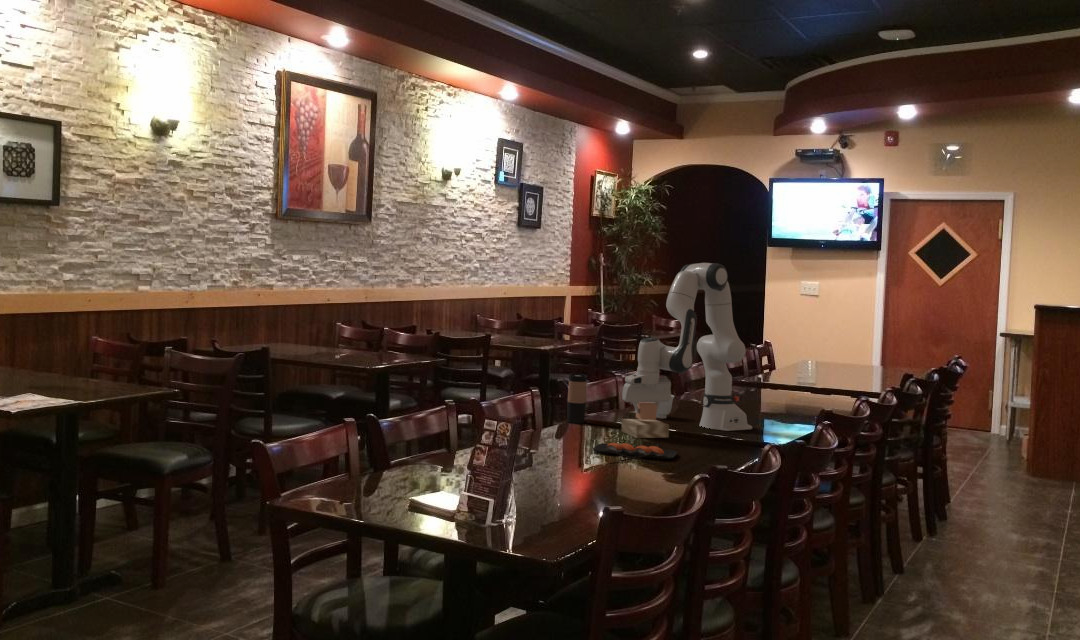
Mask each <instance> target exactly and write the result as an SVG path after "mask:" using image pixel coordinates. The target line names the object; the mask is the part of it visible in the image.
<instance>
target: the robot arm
mask: <svg viewBox="0 0 1080 640" xmlns="http://www.w3.org/2000/svg"><path fill="white" fill-rule="evenodd" d="M728 277H729V275H728V270H727V269H726V267H725V266H724V265H722V264H720V263H717V262H715V263H711V262H700V263H699V262H698V263H689V264H686V265H683V266H682V268H680V271H679V272H678V273H677V274H676V275H675V278H674V280H673V281H672V283H671V286H670V289H669V292H668V294H667V297H666V303H665V307H666V309H667V312H668V313H669V315H670V316H671V317H673V318H674V319H676V320H677V321H678V322H679V323H680V325H681V330H680V337H679V343H678V346H676V347H675V346H670V345H666V344H664V343H663V342H661V341H660V339H659V338H658V337H652V336H651V337H644V338H642V339H641V340H640V342H639V345H638V350H637V362H638V363H637V364H638V366H637V368H636V372H635V373H633V374H630V375H627V376H625V378H624V381H625V383H624V384H623V386H622V396H621V398H622V401H623V402H625V403H632V405H633V407H634V411H635V414H636V413H640V409H639V408H638V406H637V405H638V402H655V404H657V409H658V407H659V406H660V402H669V401H670V400H671V395H672V390H671V389H672V382H671V380H670V379H668V378H660V370H663V371H670V372H674V373H676V374H684V373H686V372H688V371H689V369H690V368H691V367H692V365H693V361H694V360H693V359H694V356H693V352H694V351H693V349H694V344H695V337H696V328H697V319H698V318H697V313H696V311H695V302H696V298H697V294H698V291H699V290H701V291H704V305H705V306H704V307H705V322H706V325H708V328H710V330H711V332H712V334H707V335H703V336H701V337H700V338H699V339H698V341H697V343H696V351H697V353H698V355H699V356H700V358H701V360H702V364H703V369H704V374H705V380H704V381H705V382H704V383H705V385H704V392H703V402H702V403H703V404H702V405H703V409H702V414H701V419H700V421H699V425H698V426H699V427H701V426H702V427H701V428H704V427H705V429H709V428H710V430H719V431H726V432H730V431H746V430H753V426H752V425H751V424H749V423H748V419H747V418H748V417H747V414H746V413H745V411H743V410H742V409H741V408H740V407H739V406H738V405H736V403H735V402H739V401H740V398H739V396H737V395H732V391H733V390H732V386H733V376H732V374H731V373H730V372H729V371H730V370H729V369H728V366H727V364H735V363H740V362H741V361H742V360H743V359H744V357H745V356H746V352H747V351H746V345H745V344H744V342H743V341H742V340H741V338H740V337H739V335H738V333H737V330H736V327H735V323H734V317H733V305H732V304H733V303H732V294H731V293H732V292H731V288H730V283H729V281H728V279H729V278H728ZM656 413H657V410H656Z"/></svg>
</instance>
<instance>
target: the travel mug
mask: <svg viewBox="0 0 1080 640" xmlns="http://www.w3.org/2000/svg"><path fill="white" fill-rule="evenodd" d="M587 380H588V375H587V374H581V373H580V374H579V373H569V374H568V387H567V390H568V391H567V405H566V407H567V408H566V409H567V410H566V411H567V413H566V414H567V416H566V418H567V420H566V422H567V423H568V424H574V425H575V424H578V425H581V424H584V423H585V415H586V404H587V403H586V402H587V384H588V383H587V382H588V381H587Z"/></svg>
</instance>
